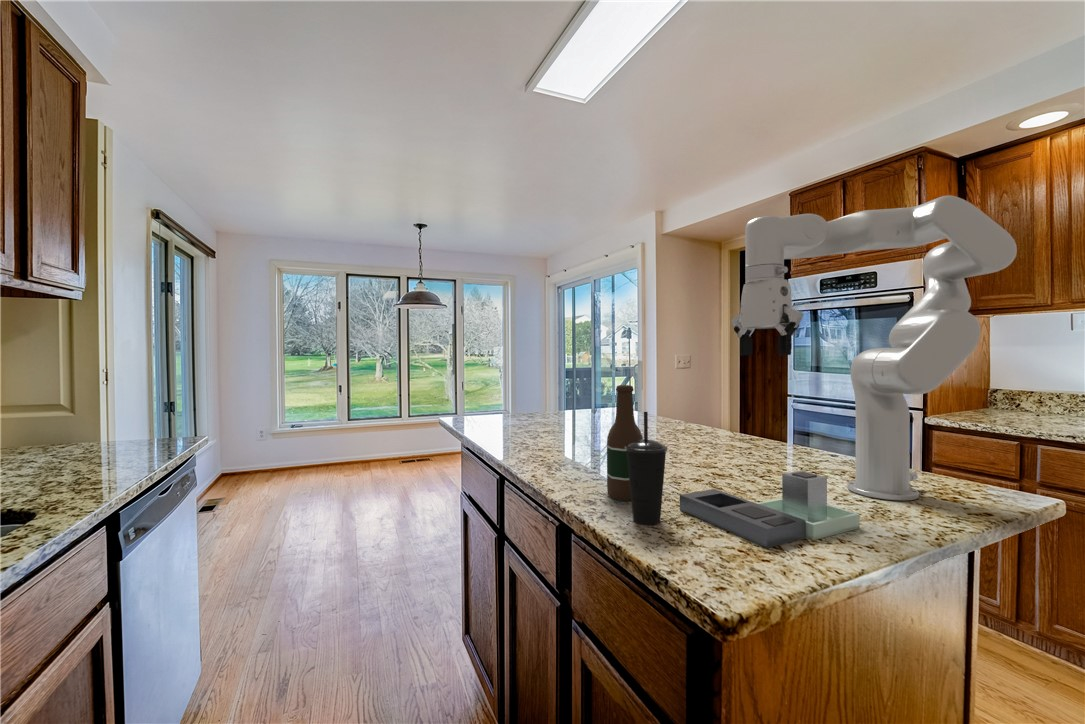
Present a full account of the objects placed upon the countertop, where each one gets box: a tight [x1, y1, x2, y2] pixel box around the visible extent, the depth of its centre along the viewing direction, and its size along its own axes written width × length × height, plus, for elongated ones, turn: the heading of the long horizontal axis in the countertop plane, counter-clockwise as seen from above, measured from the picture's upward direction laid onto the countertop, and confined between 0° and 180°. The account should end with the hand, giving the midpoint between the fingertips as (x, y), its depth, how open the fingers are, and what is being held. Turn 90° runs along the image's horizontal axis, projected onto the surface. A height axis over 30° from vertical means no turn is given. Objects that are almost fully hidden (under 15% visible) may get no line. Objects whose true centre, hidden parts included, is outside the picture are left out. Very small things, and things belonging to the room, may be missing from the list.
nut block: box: [781, 470, 828, 523], centre depth 83 cm, size 5×5×8 cm
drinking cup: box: [625, 411, 668, 526], centre depth 84 cm, size 8×8×20 cm
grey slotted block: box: [679, 488, 807, 549], centre depth 83 cm, size 9×20×3 cm, turn 24°
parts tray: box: [756, 497, 861, 541], centre depth 83 cm, size 12×12×2 cm
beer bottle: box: [606, 384, 644, 502], centre depth 99 cm, size 8×8×24 cm
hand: (764, 355), depth 100 cm, fingers open, 9 cm apart
